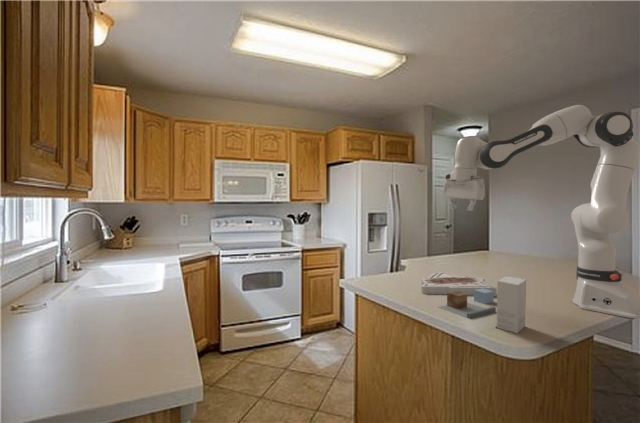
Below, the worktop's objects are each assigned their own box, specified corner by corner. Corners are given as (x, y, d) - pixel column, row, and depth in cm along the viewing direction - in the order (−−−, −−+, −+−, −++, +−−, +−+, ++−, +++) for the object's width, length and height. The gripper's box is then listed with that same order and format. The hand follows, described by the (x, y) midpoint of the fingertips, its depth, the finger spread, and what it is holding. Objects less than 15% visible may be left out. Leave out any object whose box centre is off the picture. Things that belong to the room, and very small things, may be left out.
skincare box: (505, 321, 115) (505, 275, 114) (527, 326, 110) (527, 279, 109) (495, 328, 109) (496, 280, 108) (518, 334, 104) (519, 283, 104)
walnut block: (467, 307, 128) (467, 293, 128) (457, 309, 126) (458, 295, 126) (456, 303, 133) (456, 290, 132) (447, 305, 130) (447, 292, 130)
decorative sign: (499, 298, 143) (474, 280, 172) (500, 288, 142) (474, 272, 172) (422, 296, 146) (410, 279, 176) (422, 287, 146) (410, 271, 175)
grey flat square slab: (495, 313, 123) (495, 307, 123) (469, 320, 116) (469, 314, 116) (463, 302, 135) (463, 297, 135) (437, 308, 129) (437, 303, 129)
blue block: (493, 303, 134) (493, 291, 134) (485, 305, 132) (485, 293, 131) (482, 300, 138) (482, 288, 138) (473, 302, 136) (474, 290, 136)
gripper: (490, 176, 131) (487, 212, 132) (453, 177, 151) (450, 208, 151) (477, 175, 129) (474, 211, 130) (441, 176, 148) (439, 207, 149)
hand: (461, 209), depth 141 cm, fingers open, 8 cm apart
